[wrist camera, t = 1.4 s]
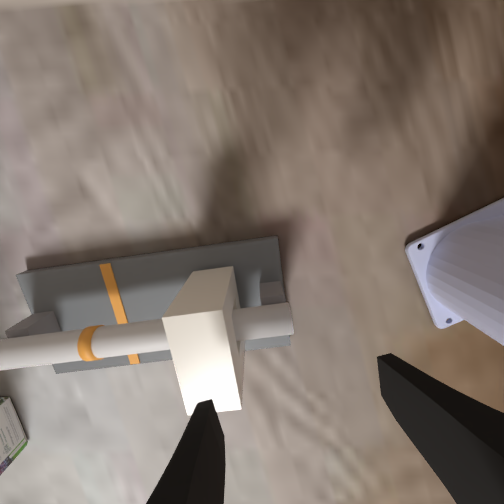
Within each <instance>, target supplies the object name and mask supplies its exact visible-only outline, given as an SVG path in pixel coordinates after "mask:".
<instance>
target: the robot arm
mask: <svg viewBox="0 0 504 504" xmlns="http://www.w3.org/2000/svg"><path fill="white" fill-rule="evenodd" d="M420 243H421V247H420V248H417V246H418V245H419V244H420ZM405 252H406V254H407V257H408V259H409V262H410V264H411V267H412V269H413V272H414V274H415V277H416V279H417V282H418V284H419V287H420V289H421V292H422V294H423V297H424V299H425V302H426V304H427V307H428V309H429V312H430V314H431V317H432V320H433V322H434V324H435V326H437V327H438V328H440V329H443V328H446V327H448V326H451V325H453V324H455V323H458V322H460V321H462V320H466V321H467V322H469V323H470V324H472V325H473V326H475V327H476V328H478V329H479V330H481V331H482V332H484V333H485V334H487V335H488V336H490V337H491V338H493V339H494V340H496V341H497V342H499V343H500V344H502V345H504V198H502V199H500V200H498V201H496V202H494V203H492V204H490V205H488V206H485V207H483V208H481V209H479V210H477V211H475V212H473V213H471V214H469V215H467V216H465V217H463V218H460V219H458V220H456V221H454V222H452V223H450V224H448V225H446V226H444V227H442V228H440V229H437V230H435V231H433V232H431V233H429V234H427V235H425V236H423V237H421V238H419V239H417V240H415V241H412V242H410V243H409V244H407V246H406V248H405ZM448 318H449V319H448ZM447 319H448V320H447ZM446 320H447V321H446ZM377 362H378V371H379V379H380V388H381V396H382V397H383V399H384V401H385V402H386V404H387V406H388V408H389V409H390V411H391V413H392V414H393V416H394V417H395V419H396V421H397V422H398V423H399V425H400V426H401V428H402V429H403V430H404V432H405V433H406V434H407V436H408V437H409V438H410V440H411V441H412V442H413V444H414V445H415V446H416V448H417V449H418V450H419V452H420V453H421V454H422V456H423V457H424V458H425V460H426V461H427V463H428V464H429V465H430V467H431V468H432V469H433V471H434V472H435V473H436V475H437V476H438V477H439V479H440V480H441V481H442V483H443V484H444V486H445V487H446V488H447V490H448V491H449V493H450V494H451V496H452V497H453V499H454V500H455V502H456V503H457V504H504V413H502V412H500V411H498V410H496V409H493V408H491V407H489V406H487V405H485V404H483V403H480V402H478V401H476V400H474V399H472V398H470V397H468V396H466V395H464V394H462V393H460V392H459V391H457V390H455V389H453V388H451V387H449V386H447V385H445V384H444V383H442V382H440V381H438V380H436V379H434V378H433V377H431V376H429V375H427V374H426V373H424V372H422V371H420V370H419V369H417V368H415V367H414V366H412V365H410V364H408V363H407V362H405V361H403V360H402V359H400V358H398V357H397V356H395V355H393V354H391V353H389V354H386V355H382V356H378V357H377ZM224 486H225V442H224V434H223V431H222V428H221V425H220V422H219V419H218V416H217V413H216V410H215V406H214V403H213V400H212V399H210V400H206V401H202V402H198V403H197V405H196V407H195V409H194V411H193V413H192V416H191V418H190V420H189V423H188V425H187V427H186V429H185V431H184V433H183V436H182V438H181V440H180V442H179V444H178V446H177V448H176V450H175V452H174V454H173V456H172V458H171V460H170V462H169V464H168V466H167V467H166V469H165V471H164V473H163V475H162V477H161V478H160V480H159V482H158V484H157V486H156V487H155V489H154V491H153V493H152V494H151V496H150V498H149V499H148V501H147V503H146V504H224Z"/></svg>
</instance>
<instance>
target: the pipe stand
mask: <svg viewBox="0 0 504 504" xmlns="http://www.w3.org/2000/svg"><path fill="white" fill-rule="evenodd" d="M229 266H233V268H234V274H235V280H236V286H237V291H238V297H239V303H240V309H233V311H232V321H233V327H234V332H235V338H236V341H244V340H245V351H248V350H256V349H264V348H273V347H281V346H289V345H291V343H290V335H292V334H294V329H293V321H292V315H291V309H290V305H289V302H287V303H286V301H285V293H284V285H283V277H282V269H281V260H280V252H279V244H278V238H277V235H276V236H269V237H262V238H255V239H248V240H241V241H234V242H227V243H219V244H212V245H205V246H198V247H191V248H184V249H177V250H170V251H163V252H155V253H148V254H141V255H134V256H127V257H120V258H113V259H106V260H99V261H91V262H84V263H77V264H70V265H63V266H56V267H49V268H42V269H35V270H27V271H24V272H22V273H19V274H17V275H16V277H17V279H18V282H19V284H20V287H21V289H22V292H23V294H24V297H25V299H26V301H27V304H28V306H29V309H30V311H31V314H32V315H31V316H29V317H27V318H26V319H24V320H22V321H21V322H19V323H17V324H16V325H14V326H12V327H11V328H9V329H7V330H6V331H5V333H6V335H7V337H8V339H0V370H8V369H16V368H24V367H33V366H41V365H49V364H52V365H53V368H54V370H55V372H56V374H59V373H67V372H75V371H83V370H91V369H100V368H108V367H116V366H124V365H133V364H141V363H149V362H157V361H166V360H173V359H172V355H171V351H170V347H169V343H168V340H167V336H166V332H165V328H164V324H163V321H162V317H163V315H164V314H165V312H166V311H167V309H168V308H169V306H170V305H171V303H172V302H173V300H174V299H175V297H176V296H177V294H178V293H179V291H180V290H181V288H182V287H183V285H184V284H185V282H186V281H187V279H188V278H189V276H190V275H191V273H192V272H193V271H200V270H207V269H215V268H222V267H229Z"/></svg>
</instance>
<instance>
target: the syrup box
mask: <svg viewBox="0 0 504 504" xmlns="http://www.w3.org/2000/svg"><path fill="white" fill-rule="evenodd" d="M27 442H28V441H27V438H26V435H25V433H24V430H23V428H22V425H21V423H20V420H19V418H18V415H17V413H16V411H15V409H14V406H13V404H12V402H11V399H10V397H0V475H1V474H2V473H3V472H4V471H5V469H6V468H7V467H8V466H9V465H10V464H11V463H12V461H13V460H14V459H15V458H16V457H17V456H18V455H19V453H20V452H21V451H22V450H23V449H24V448H25V447H26V446H27Z"/></svg>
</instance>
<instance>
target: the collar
mask: <svg viewBox="0 0 504 504" xmlns="http://www.w3.org/2000/svg"><path fill="white" fill-rule="evenodd" d="M233 309H240V303H239V297H238V291H237V286H236V280H235V274H234V268H233V266H229V267H222V268H215V269H207V270H200V271H193V272H192V273H191V275H190V276H189V278H188V279H187V281H186V282H185V284H184V285H183V287H182V288H181V290H180V291H179V293H178V294H177V296H176V297H175V299H174V300H173V302H172V303H171V305H170V306H169V308H168V309H167V311H166V312H165V314H164V315H163V317H162V321H163V324H164V328H165V332H166V336H167V340H168V343H169V347H170V351H171V355H172V359H173V362H174V366H175V370H176V374H177V378H178V381H179V385H180V389H181V393H182V397H183V400H184V404H185V408H186V412H187V415H192V413H193V411H194V409H195V407H196V405H197V403H198V402H202V401H206V400H210V399H212V400H213V403H214V406H215V410H216V412H221V411H230V410H239V409H242V392H243V374H244V355H245V340H244V341H236V338H235V332H234V327H233V321H232V311H233Z"/></svg>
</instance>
